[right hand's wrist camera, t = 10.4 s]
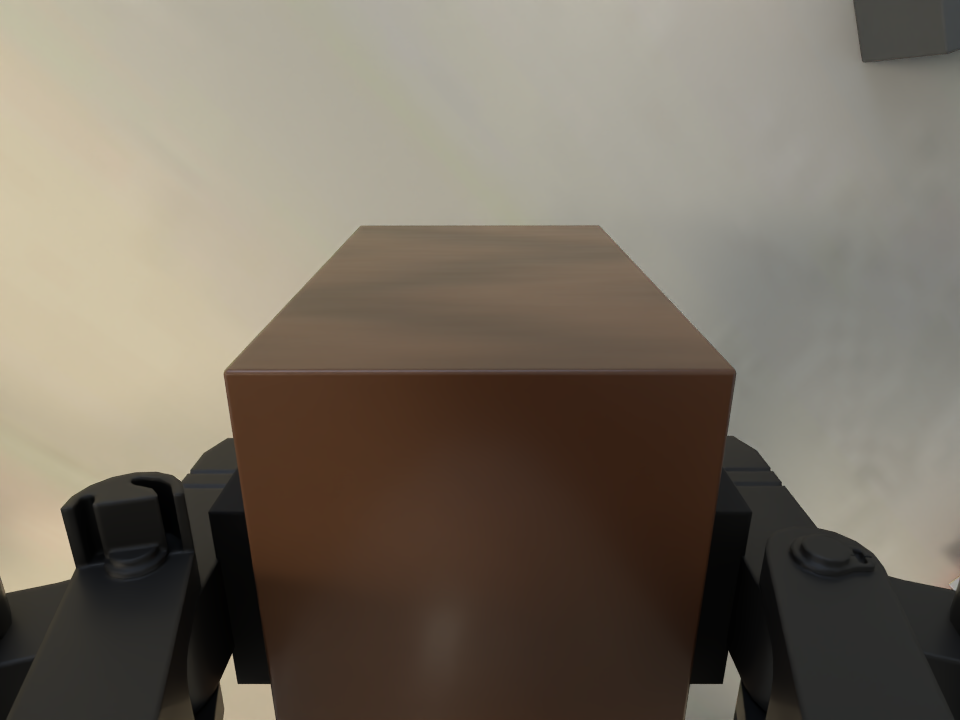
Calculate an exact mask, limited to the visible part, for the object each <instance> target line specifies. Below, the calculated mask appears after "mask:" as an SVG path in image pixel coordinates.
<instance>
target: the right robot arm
mask: <svg viewBox="0 0 960 720" xmlns="http://www.w3.org/2000/svg"><path fill="white" fill-rule="evenodd" d="M190 471H191V472H190V474H187V475H186V477H185V478H184V479H183V481H182V482H181V481H180V480H178V479H177V478H176V477H174V476H173V475H168V474H164V473H159V472H136V473H131V474H126V475H121V476H116V477H112V478H109V479H106V480H104V481H101V482H98V483H96V484H93V485H90V486H89V487H87V488H85V489H84V490H82V491H80V492H79V493H77V494H75V495H74V496H72V497H71V498H70V499H69V500H68V501H67V502H66V504H65V505H64V506H63V507H62V508H61V513H62V517H63V520H64V524H65V528H66V532H67V535H68V539H69V543H70V547H71V550H72V554H73V558H74V562H75V565H76V570H75V572H74V574H73V576H72V578H71V580H67V581H63V582H59V583H55V584H50V585H45V586H40V587H35V588H30V589H25V590H20V591H15V592H10V593H5V590H4V587H3V584H2V581H1V578H0V720H223V715H224V705H223V698H222V692H221V687H220V679H221V677H222V675H223V673H224V670H225V668H226V666H227V664H228V661H229V659H230V657H231V655H232V653H233V659H234V665H235V670H236V676H237V682H238V684H271V683H270V676H269V670H268V663H267V656H266V650H265V643H264V637H263V630H262V623H261V617H260V610H259V604H258V597H257V590H256V584H255V577H254V571H253V564H252V557H251V551H250V544H249V538H248V531H247V524H246V518H245V511H244V505H243V498H242V491H241V485H240V478H239V472H238V465H237V458H236V452H235V445H234V439H233V438H227V439H226V440H224V441H222V442H221V443H219V444H218V445H216V446H214V447H213V448H211V449H210V450H208V451H206V452H205V453H204V454H203V455H202V456H201V457H200V459H199V460H198V461H197V463H196V464H195V465H194V466H193V468H192V469H191V470H190ZM728 650H729V652H730V655H731V657H732V659H733V661H734V664H735V666H736V668H737V670H738V672H739V675H740V677H741V681H740V687H739V692H738V697H737V703H736V708H735V714H734V719H733V720H960V580H959V583H958V586H957V589H956V591H955V590H950V589H945V588H940V587H935V586H930V585H925V584H920V583H915V582H910V581H905V580H901V579H897V578H894V577H890V576H888V575H887V573H886V570H885V568H884V567H883V565H882V564H881V563H880V561H879V560H878V559H877V558H876V556H875V555H874V554H873V553H872V552H870V551H869V550H868V549H866V548H865V547H863V546H862V545H861V544H859V543H858V542H856V541H854V540H852V539H850V538H847V537H845V536H843V535H840V534H838V533H836V532H832V531H828V530H824V529H819V528H817V527H816V525H815V524H814V523H813V522H812V520H811V519H810V518H809V516H808V515H807V514H806V513H805V511H804V510H803V509H802V508H801V506H800V505H799V504H798V502H797V501H796V500H795V499H794V497H793V496H792V495H791V494H790V492H789V491H788V490H787V488H786V487H785V486H782V482H781V481H780V480H779V478H778V477H777V476H776V475H775V473H774V472H773V471H770V467H769V466H768V464H767V463H766V462H765V461H764V459H763V458H762V457H761V455H760V454H759V453H758V452H757V451H756V450H755V449H753V448H752V447H750V446H748V445H747V444H745V443H743V442H742V441H740V440H739V439H737V438H735V437H734V436H727V439H726V445H725V452H724V459H723V465H722V472H721V479H720V485H719V492H718V499H717V506H716V512H715V519H714V526H713V532H712V539H711V546H710V553H709V559H708V566H707V573H706V579H705V586H704V593H703V600H702V606H701V613H700V620H699V626H698V633H697V640H696V646H695V653H694V660H693V667H692V673H691V680H690V684H723V679H724V673H725V667H726V661H727V656H728Z"/></svg>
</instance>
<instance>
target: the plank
mask: <svg viewBox="0 0 960 720" xmlns="http://www.w3.org/2000/svg"><path fill="white" fill-rule="evenodd" d="M735 378H736V371H735V369H734V368H733V367H732V366H731V365H730V364H729V363H728V362H727V361H726V360H725V359H724V357H723V356H722V355H721V354H720V353H719V352H718V351H717V350H716V349H715V348H714V347H713V346H712V345H711V344H710V343H709V342H708V340H707V339H706V338H705V337H704V336H703V335H702V334H701V333H700V332H699V331H698V330H697V329H696V328H695V327H694V326H693V325H692V323H691V322H690V321H689V320H688V319H687V318H686V317H685V316H684V315H683V314H682V313H681V312H680V311H679V310H678V309H677V308H676V307H675V305H674V304H673V303H672V302H671V301H670V300H669V299H668V298H667V297H666V296H665V295H664V294H663V293H662V292H661V291H660V290H659V288H658V287H657V286H656V285H655V284H654V283H653V282H652V281H651V280H650V279H649V278H648V277H647V276H646V275H645V274H644V273H643V271H642V270H641V269H640V268H639V267H638V266H637V265H636V264H635V263H634V262H633V261H632V260H631V259H630V258H629V257H628V256H627V254H626V253H625V252H624V251H623V250H622V249H621V248H620V247H619V246H618V245H617V244H616V243H615V242H614V241H613V240H612V239H611V238H610V236H609V235H608V234H607V233H606V232H605V231H604V230H603V229H602V228H601V227H600V226H360V227H359V228H358V229H357V230H356V231H355V232H354V233H353V235H352V236H351V237H350V238H349V239H348V240H347V241H346V242H345V243H344V244H343V245H342V246H341V247H340V248H339V249H338V250H337V252H336V253H335V254H334V255H333V256H332V257H331V258H330V259H329V260H328V261H327V262H326V263H325V264H324V265H323V266H322V267H321V269H320V270H319V271H318V272H317V273H316V274H315V275H314V276H313V277H312V278H311V279H310V280H309V281H308V282H307V283H306V284H305V286H304V287H303V288H302V289H301V290H300V291H299V292H298V293H297V294H296V295H295V296H294V297H293V298H292V299H291V300H290V302H289V303H288V304H287V305H286V306H285V307H284V308H283V309H282V310H281V311H280V312H279V313H278V314H277V315H276V316H275V317H274V319H273V320H272V321H271V322H270V323H269V324H268V325H267V326H266V327H265V328H264V329H263V330H262V331H261V332H260V333H259V334H258V336H257V337H256V338H255V339H254V340H253V341H252V342H251V343H250V344H249V345H248V346H247V347H246V348H245V349H244V350H243V351H242V353H241V354H240V355H239V356H238V357H237V358H236V359H235V360H234V361H233V362H232V363H231V364H230V365H229V366H228V367H227V368H226V370H225V371H224V379H225V386H226V392H227V399H228V406H229V412H230V419H231V425H232V432H233V439H234V445H235V452H236V458H237V465H238V472H239V478H240V485H241V491H242V498H243V505H244V511H245V518H246V524H247V531H248V538H249V544H250V551H251V557H252V564H253V571H254V577H255V584H256V590H257V597H258V604H259V610H260V617H261V623H262V630H263V637H264V643H265V650H266V656H267V663H268V670H269V676H270V683H271V689H272V696H273V703H274V709H275V716H276V720H685V714H686V707H687V700H688V693H689V687H690V680H691V673H692V667H693V660H694V653H695V646H696V640H697V633H698V626H699V620H700V613H701V606H702V600H703V593H704V586H705V579H706V573H707V566H708V559H709V553H710V546H711V539H712V532H713V526H714V519H715V512H716V506H717V499H718V492H719V485H720V479H721V472H722V465H723V459H724V452H725V445H726V439H727V432H728V425H729V418H730V412H731V405H732V398H733V392H734V385H735Z"/></svg>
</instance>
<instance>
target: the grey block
mask: <svg viewBox="0 0 960 720" xmlns="http://www.w3.org/2000/svg"><path fill="white" fill-rule="evenodd" d="M854 7H855V14H856V21H857V28H858V35H859V42H860V49H861V55H862V61H863V62H871V61H881V60H891V59H901V58H911V57H921V56H931V55H941V54H948V53H951V52H954V51H957V50H959V49H960V0H854Z"/></svg>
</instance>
